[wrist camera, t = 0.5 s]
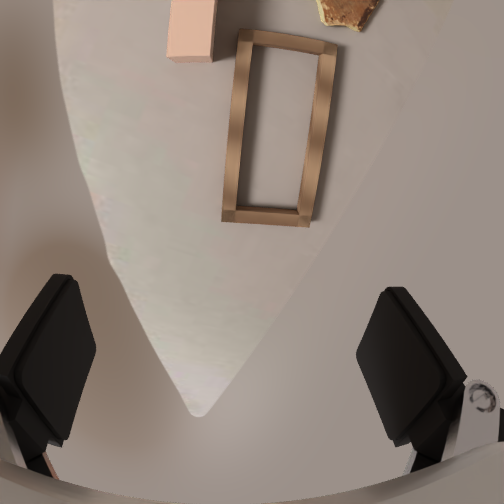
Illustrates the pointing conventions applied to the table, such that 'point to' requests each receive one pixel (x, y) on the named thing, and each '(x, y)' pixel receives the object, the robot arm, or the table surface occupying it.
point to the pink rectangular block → (191, 30)
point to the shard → (346, 12)
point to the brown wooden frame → (315, 136)
